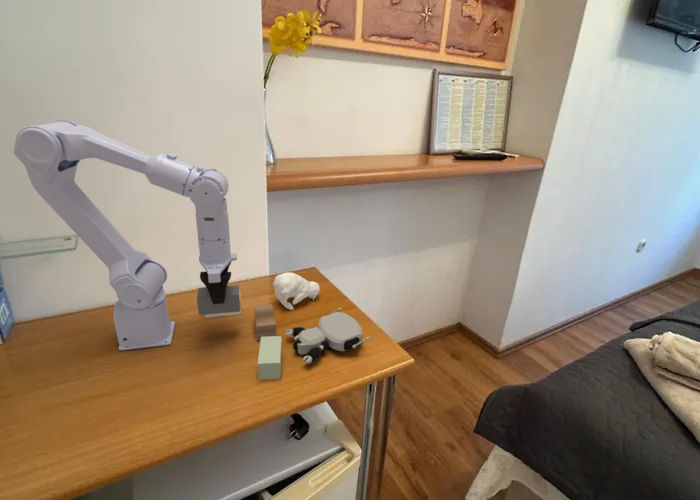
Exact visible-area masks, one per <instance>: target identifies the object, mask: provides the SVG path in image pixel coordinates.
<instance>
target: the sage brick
mask: <svg viewBox="0 0 700 500" xmlns="http://www.w3.org/2000/svg"><path fill="white" fill-rule="evenodd" d="M259 342H260V343H259V350H258V357H257V358H258V359H257V380H258V381H265V380H268V381H269V380H281V374H282V373H281V369H282V351H283V349H282V335H279V336H278V335H276V336H266V337H261V341H259Z"/></svg>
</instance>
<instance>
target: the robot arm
mask: <svg viewBox="0 0 700 500" xmlns="http://www.w3.org/2000/svg"><path fill="white" fill-rule="evenodd" d="M14 141H15V143H14V148H13V149H14V150H13V155H14V156H15V157H17V159H18V160H19V161H20V162H21V163H22V164H23V165H24V168H25V170H26V172H27V175H28V178H29V180H30V183H31V186H32V188H33V189H34V190H35V191H36V192H37V194H38V195H39V196H40V197H41V198H42V199H43V200H44V201H45V202H46V203H47V205H49V207H50V208H51V209H52V210H53V211H54V212H55V213H56V214H57V216H59V217H60V218H61V219H62V221H63V222H64V223H66V224H67V225H68V227H69V228H70V229H71V230H72V231H73V232H74V233H75V234H76V236H78V238H80V239H81V240H82V242H83V243H84V244H85V245H86V246H87V247H88V248H89V249H90V250H91V252H93V253H94V254H95V256H96V257H98V259H99V260H100V261H101V262H102V263H103V264H104V265H105V266H106V267H107V268H108V279H109V280H108V282H109V285H110V286H111V287H112V288H113V290H114V291H115V293H116V297H117V298H118V300H117V301H116V302H115V303H114V307H113V323H114V327H115V328H114V329H115V332H116V337H117V341H118V345H119V346H118V351H128V350H135V349H138V350H139V349H145V348H151V347H152V348H153V347H161V346H169V345H171V344H172V341H173V336H174V330H175V326H176V322H175V321H174V320H173V321H172V320H171V321H170V315H169V308H168V301H167V294H166V291H165V290H164V285H165V282H166V281H167V278H168V272H167V269H166V268H165V266H164V265H162V263H160V262H158V261H157V260H154V259H152V258H151V257H150V255H148V253H146V252H142V251H139V250H135V249H134V248H133V247H132V245H131V244H130V243H129V242H128V241H127V240H126V239H125V237H123V235H122V234H121V233H120V232H119V231H118V229H116V227H115V226H114V225H113V224H112V222H110V220H109V219H108V218H107V217H106V216H105V215H104V214H103V213H102V212H101V210H100V209H99V207H97V206H96V204H95V203H93V201H92V200H91V199H90V198H89V197H88V195H87V194H86V193H85V192H84V191H83V190H82V189H81V187H79V185H78V184H77V182H75V181H76V180H75V178H76V173H77V168H78V165H79V164H80V162H81V160H87V159H94V158H95V159H98V160H100V161H104V162H107V163H109V164H113V165H115V166H119V167H122V168H125V169H128V170H132V171H135V172H137V173H140V174H143V175H145V177H146V179H147V180H148V182H149V183H150V184H151V185H154V186H155V187H159V188H161V189H164V190H167V191H170V192H172V193H175V194H178V195H180V196H183V197H185V198H189V199H190V201H191V202H192V203H193V205H194V207H195V220H196V221H195V222H196V232H197V239H198V240H197V241H198V251H199V257H198V262H199V264H200V265H201V266H202V268H203V269H204V270H205V271H200V272H199V273H200V274H199V279H200V282H201V283H202V284H204V286H205V287H206V288H207V289H208V292H209V295H210V298H211V300H212V303H213V304H223V303H224V301H225V294H226V287H227V286H228V284H229V281H230V280H231V277H232V271H229V268H230V266H231V264H232V262H233V261H237V260H238V253H235V252H233V253H232V252H231V239H230V238H231V237H230V224H229V223H230V222H229V211H228V204H227V198H226V196H227V193H228V192H229V182H228V181H229V180H227V178H226V176H225V175H224V174H223V173H222V172H220V171H219V170H217V169H215V168H207V169H205V167H204V166H203V165H199V164H198V165H197V166H195V165H193V164H191V163H188V162H186V161H183V160H180V159H178V158H177V157H178V155H177V154H175V153H172V152H169V153H166V154H165V153H158V154H156V155H154V156H153V155H150V154H147V153H146V152H143V151H141V150H138V149H136V148H135V147H132V146H130V145H127V144H125V143H123V142H120V141H118V140H116V139H114V138H112V137H109V136H107V135H105V134H103V133H101V132H98V131H96V130H94V129H93V128H91V127H89V126H86V125H82V124H78V123H76V122H74V121H72V120H67V119H60V120H58V119H57V120H56V121H54V122H50V123H49V122H48V123H44V124H38V125H26V126H24V127H22V128H20V130H19V131H18V132H17V133H16V136H15V140H14Z"/></svg>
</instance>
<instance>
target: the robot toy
mask: <svg viewBox="0 0 700 500" xmlns="http://www.w3.org/2000/svg"><path fill="white" fill-rule="evenodd" d="M342 309H343V308H342V307H339V308H337V310H334V311H333V312H331V313H329V314H326V315H323V316H321V318H320V319H319V321H318V326H316V327H311V328H305V327H302V326H299V327H298V326H297V327H296V326H295V327H293V328H292V329H290V328H289V329H286V330H285V336H286V337H291V336H293V338H294V342H293V344H292V348H293V350H294V351H295V352H297V354H299V355H305V356H304V357H303V358H302V361H303V363H305V364H307V365H309V364H311V363H312V362H315V361H316V360H317V359H318V358H320V355H321V353H322V351H323V350H324V351H325V350H327V349H328V348H329V347H330V348H331V349H333V350H335V351H340V352H345V351H349V350H352V349H356V348H357V347H359V346H360V345H361V344H363V343H364V342H365V341H367V340H369V339H370V338H371V337H370V336H367V337H366V338H364V339H363V328H362V326H361V324H360V323H359V322H358V321H357V320H356V319H355V318H354V317H352V316H351V315H349V314H347V313H345V312H340V311H341V310H342Z"/></svg>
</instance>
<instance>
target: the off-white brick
mask: <svg viewBox="0 0 700 500" xmlns="http://www.w3.org/2000/svg"><path fill="white" fill-rule="evenodd" d="M239 293H240V294H241V291H239ZM235 315H242V306H241V300H240V312H229V313H218V314H207V315H204V318H205V319H206V318H207V319H208V318H217V317H226V316H235Z"/></svg>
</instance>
